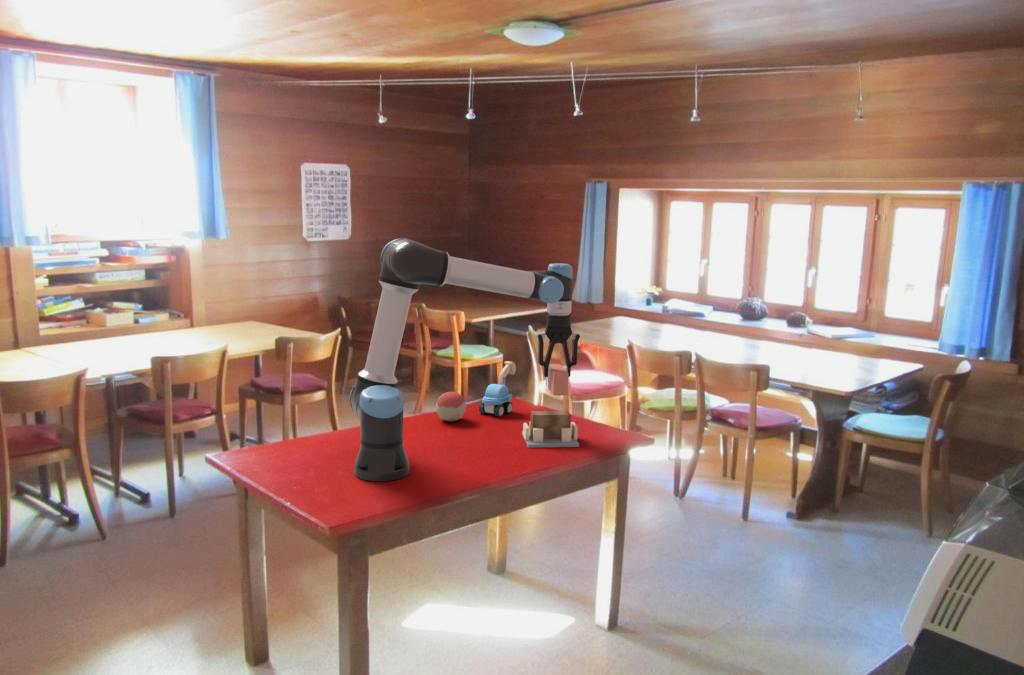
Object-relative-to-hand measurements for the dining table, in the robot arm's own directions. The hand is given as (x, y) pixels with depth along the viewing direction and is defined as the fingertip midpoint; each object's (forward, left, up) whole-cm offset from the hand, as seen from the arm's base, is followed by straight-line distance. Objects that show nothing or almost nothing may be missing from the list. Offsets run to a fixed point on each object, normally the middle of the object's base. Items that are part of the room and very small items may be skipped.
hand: (556, 386), depth 252 cm
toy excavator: (-14, +34, -18) cm, 41 cm away
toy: (-32, +24, -18) cm, 43 cm away
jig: (-2, 0, -17) cm, 18 cm away
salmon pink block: (0, 0, -1) cm, 1 cm away
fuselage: (-2, 0, -16) cm, 17 cm away
